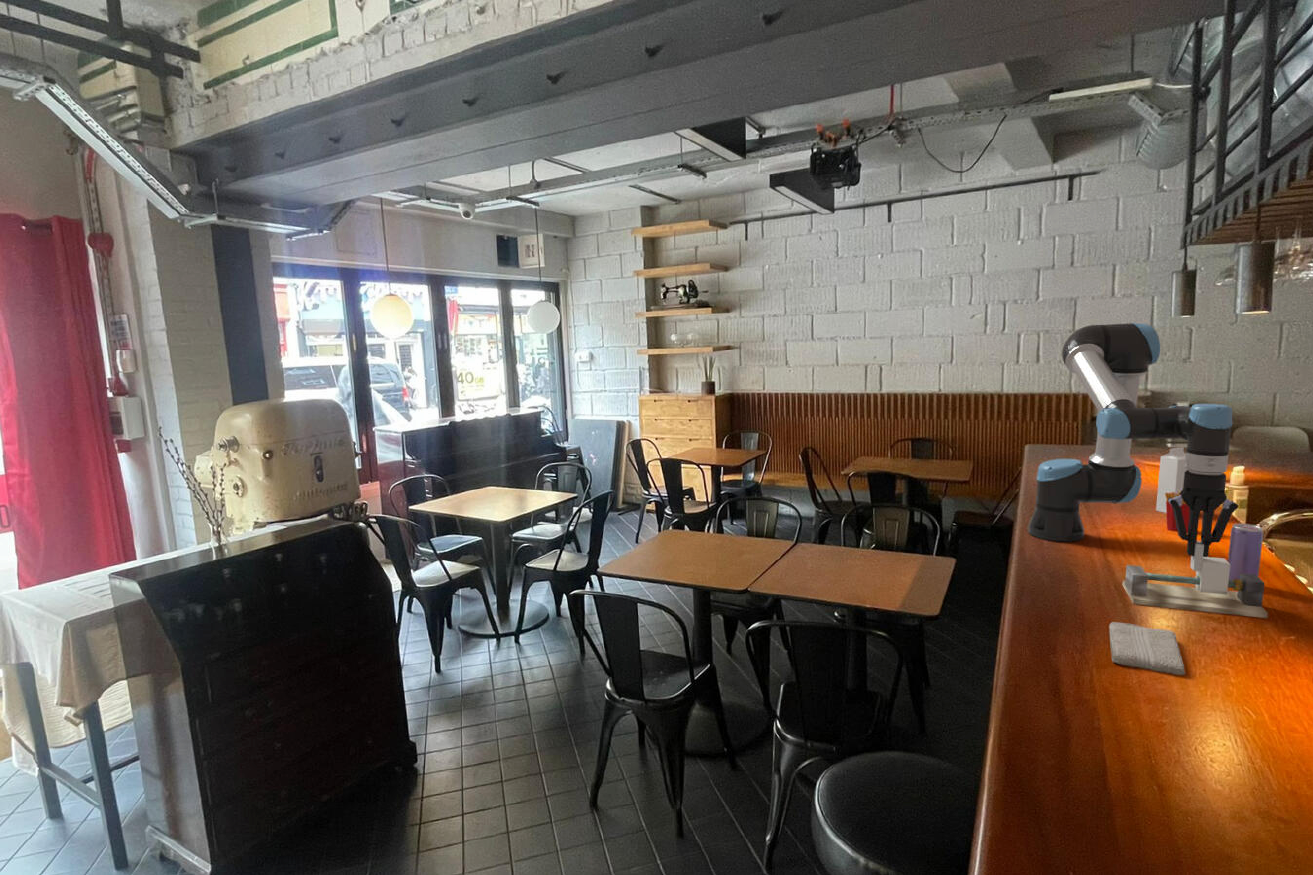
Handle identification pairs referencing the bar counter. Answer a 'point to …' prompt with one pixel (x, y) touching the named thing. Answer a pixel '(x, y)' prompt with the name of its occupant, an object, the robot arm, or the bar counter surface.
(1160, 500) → the milk
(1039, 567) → the bar counter surface
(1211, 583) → the light grey cube
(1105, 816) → the bar counter surface
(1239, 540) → the beverage can
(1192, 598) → the grey slider rail
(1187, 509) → the french fries
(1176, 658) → the washcloth
